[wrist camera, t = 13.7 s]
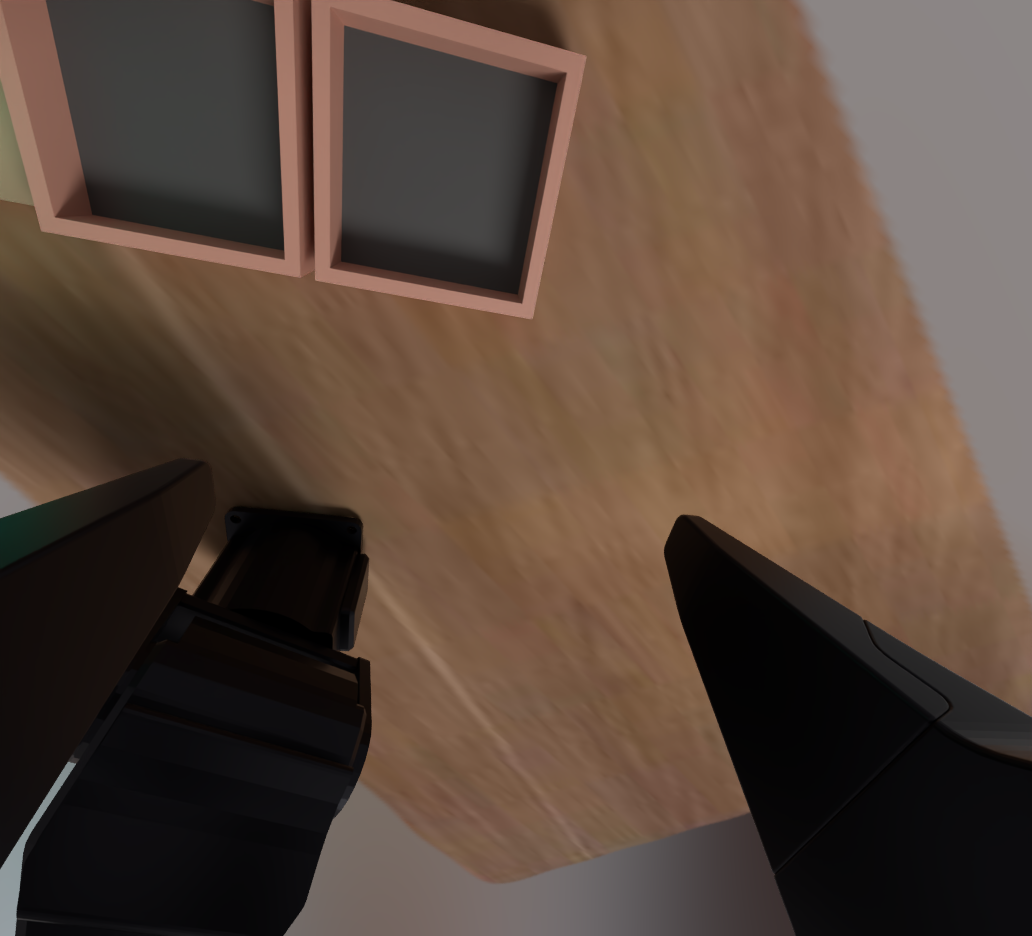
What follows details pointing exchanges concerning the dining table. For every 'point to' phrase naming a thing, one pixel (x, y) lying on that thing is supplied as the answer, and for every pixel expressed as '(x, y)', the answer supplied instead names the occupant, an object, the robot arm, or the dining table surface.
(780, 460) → the dining table surface
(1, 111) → the pad
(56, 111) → the tray
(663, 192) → the dining table surface
